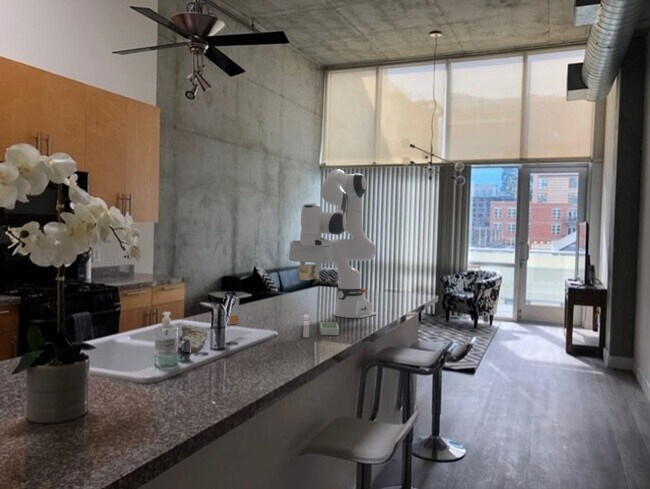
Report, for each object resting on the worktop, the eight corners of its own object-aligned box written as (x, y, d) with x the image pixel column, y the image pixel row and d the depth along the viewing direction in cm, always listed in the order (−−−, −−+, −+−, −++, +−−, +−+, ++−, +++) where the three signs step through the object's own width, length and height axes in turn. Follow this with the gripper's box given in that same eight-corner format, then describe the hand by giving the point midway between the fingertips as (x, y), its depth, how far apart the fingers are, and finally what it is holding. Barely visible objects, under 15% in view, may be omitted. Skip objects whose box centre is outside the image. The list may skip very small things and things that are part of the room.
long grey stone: (174, 358, 180) (203, 359, 181) (175, 343, 179) (204, 344, 181) (183, 332, 214) (207, 333, 216) (184, 319, 213) (208, 320, 215)
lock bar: (307, 280, 220) (307, 266, 220) (299, 279, 222) (299, 265, 222) (319, 278, 229) (319, 264, 229) (311, 277, 231) (311, 264, 231)
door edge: (303, 324, 237) (304, 313, 237) (309, 325, 237) (309, 313, 237) (303, 337, 211) (303, 324, 211) (309, 337, 211) (309, 324, 211)
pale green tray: (320, 328, 230) (320, 322, 230) (337, 328, 230) (337, 322, 230) (320, 334, 216) (320, 328, 216) (338, 335, 217) (339, 328, 217)
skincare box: (228, 325, 232) (229, 298, 232) (222, 323, 235) (223, 297, 234) (238, 323, 237) (239, 297, 236) (232, 322, 239) (233, 296, 239)
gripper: (286, 240, 227) (285, 271, 228) (326, 242, 217) (326, 275, 218) (294, 240, 233) (293, 270, 233) (334, 241, 222) (333, 273, 223)
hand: (309, 272), depth 225 cm, fingers closed on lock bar, 4 cm apart
